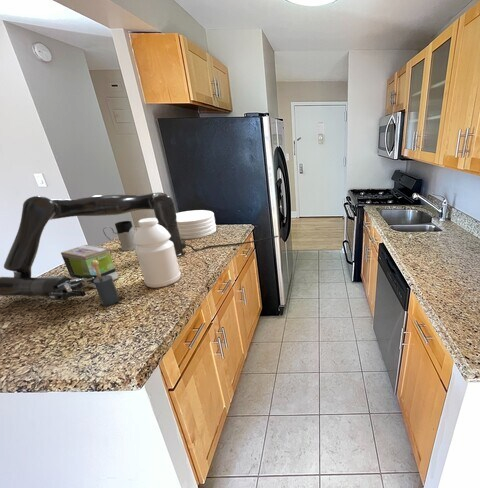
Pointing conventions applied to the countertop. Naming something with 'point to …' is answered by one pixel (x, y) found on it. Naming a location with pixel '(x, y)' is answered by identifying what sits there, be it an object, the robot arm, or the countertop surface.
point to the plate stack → (195, 223)
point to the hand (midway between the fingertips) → (94, 286)
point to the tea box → (89, 262)
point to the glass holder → (125, 235)
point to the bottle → (156, 254)
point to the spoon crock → (105, 287)
